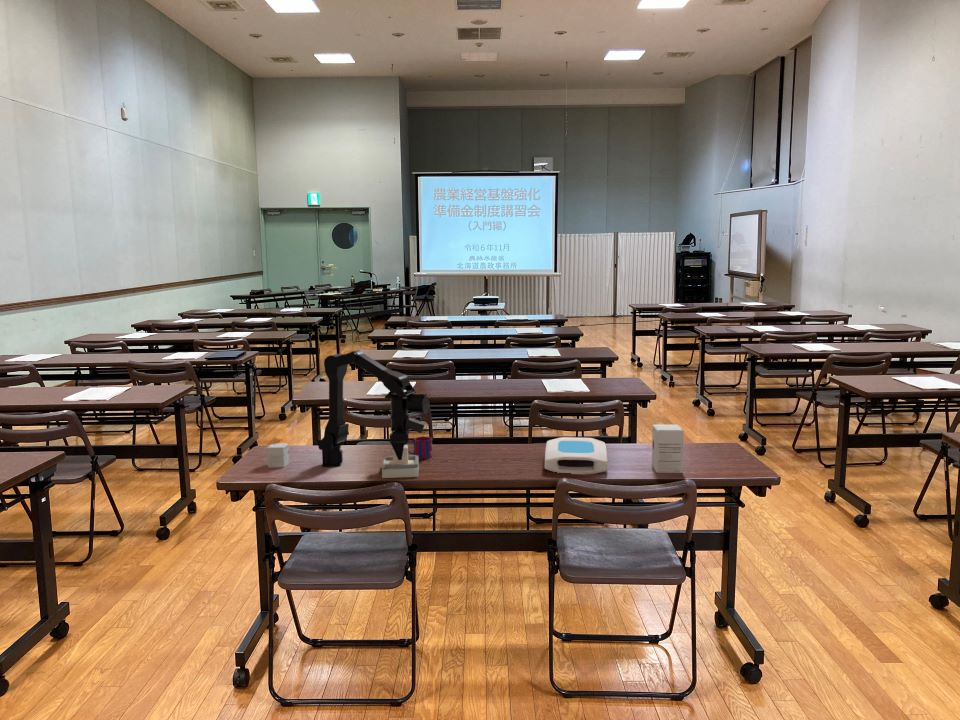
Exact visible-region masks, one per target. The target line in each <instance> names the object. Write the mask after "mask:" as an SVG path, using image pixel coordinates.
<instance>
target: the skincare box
mask: <svg viewBox="0 0 960 720" xmlns="http://www.w3.org/2000/svg"><path fill="white" fill-rule="evenodd" d="M289 449H290V448H289V443H286V442H285V443H271V444H270V445H269V446H267V447H266V454H267V456H266V457H267V468H272V469H273V468H285V467H287V465H289V464H290V452H289V451H290V450H289ZM288 463H289V464H288Z"/></svg>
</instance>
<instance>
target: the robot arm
mask: <svg viewBox="0 0 960 720" xmlns="http://www.w3.org/2000/svg"><path fill="white" fill-rule="evenodd" d="M352 364H355V365H356V366H358V367H360V368H361V369H363V370H364V371H366V372H367V373H369V374H370V375H372V376H373V377H375V378H377V380H379V381H381V382H382V384H383V386H384V388H386V389H387V391H388V393H387V394H386V395H385V396H384V399H387V400H390V420H391V421H390V422H391V423H390V424H391V425H390V431H391V432H390V434H389V444H390V445H391V446H392V447H391V448H392V449H394V451H395V453H396V456H397V458H398V460H402V455H403V449H404V445H405V444H406V443H407V444H408V443H409V442H408V441H409V440H410V438H409V437H410V435H409V434H410V431H414V432H417V433H419V434H423V430H424V427H425V425H426V423H425V422H424V421H423V420H422V417H421V416H420V415H416V416H415V418H414V417H410V414H411V413H412V414H424V415H425V414H428V412H429V411H430V408H431V407H430V406H431V405H430V404H431V403H430V400H429V397H427V393H426V392H422V393H419V392H417V391H416V390H415V388H414V386H413V385H412V383H410V378H409V376H408V375H406V374H405V373H402V372H399V371H396V370H391V369H389V368H387V367H386V366H384V365H383V364H381V363H380V362H378V361H377V360H375V359H373V358H372V357H370V356H369V355H367V354H365V353H364V352H363V351H361V350H358V349H357V350H352V351H350V352H348V353H344V354H343V353H336V354H331V355H328V356H326V358H324V361H323V367H324V372H325V375H326V376H327V379H328V421H327V423H326V425H325V427H324V432H323V433H324V434H323V437H322V438H321V440H320V441H319V442H318V443H317V446H318V449H319V450H320V451H321V454H322V455H321V456H322V457H321V458H322V459H321V460H322V464H321V467H340V466H342V465H341V464H343V462H344V461H343V459H344V456H343V454H344V451H343V450H342V449H341V448H342V447H341V446H344V445H345V444H344V443H345V441H346V440H347V438H348V436H349V435H350V433H349V426H350V425H349V423H345V421H344V417H343V416H344V414H343V413H344V406H343V405H344V379H345V376H346V373H347V371H348V366H349V365H352ZM407 444H406V445H407Z"/></svg>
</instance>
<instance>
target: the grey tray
mask: <svg viewBox="0 0 960 720" xmlns="http://www.w3.org/2000/svg"><path fill="white" fill-rule="evenodd" d="M419 461H420V460H419V459H418V456H416V455H414V454H408V464H393V455H386V457H384V460H383V462H382V468H381V478H382V479H390V478H392V479H395V478H418V477H419V469H420V468H419V465H420V464H419Z"/></svg>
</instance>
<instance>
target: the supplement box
mask: <svg viewBox="0 0 960 720" xmlns="http://www.w3.org/2000/svg"><path fill="white" fill-rule="evenodd" d="M684 433H685V431H684V429H682V427H681V426H680V425H679V424H677V423H676V424H675V423H674V424H661V423H660V424H652V440H651V441H652V443H651V447H652V449H651V467H652V468H653V470H654V471H655V473H657V474H683V471H684V470H683V467H684V466H683V464H684V463H683V462H684V437H685V436H684V435H685V434H684Z"/></svg>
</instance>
